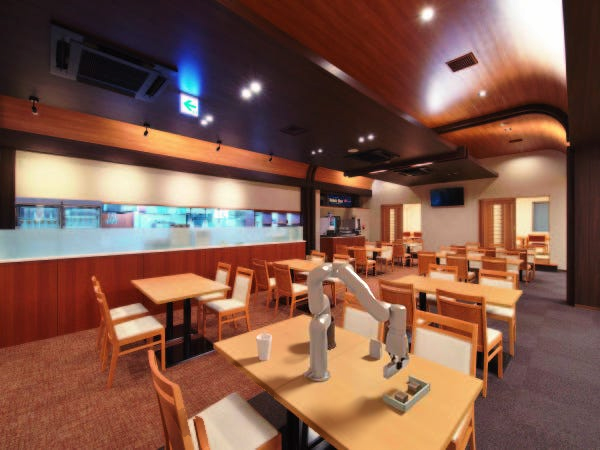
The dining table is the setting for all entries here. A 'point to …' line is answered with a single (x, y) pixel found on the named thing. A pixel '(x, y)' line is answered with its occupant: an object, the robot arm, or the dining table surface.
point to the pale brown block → (375, 349)
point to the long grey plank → (393, 368)
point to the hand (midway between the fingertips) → (396, 367)
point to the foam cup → (264, 346)
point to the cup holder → (330, 334)
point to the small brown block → (414, 387)
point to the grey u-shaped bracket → (411, 401)
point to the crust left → (401, 397)
